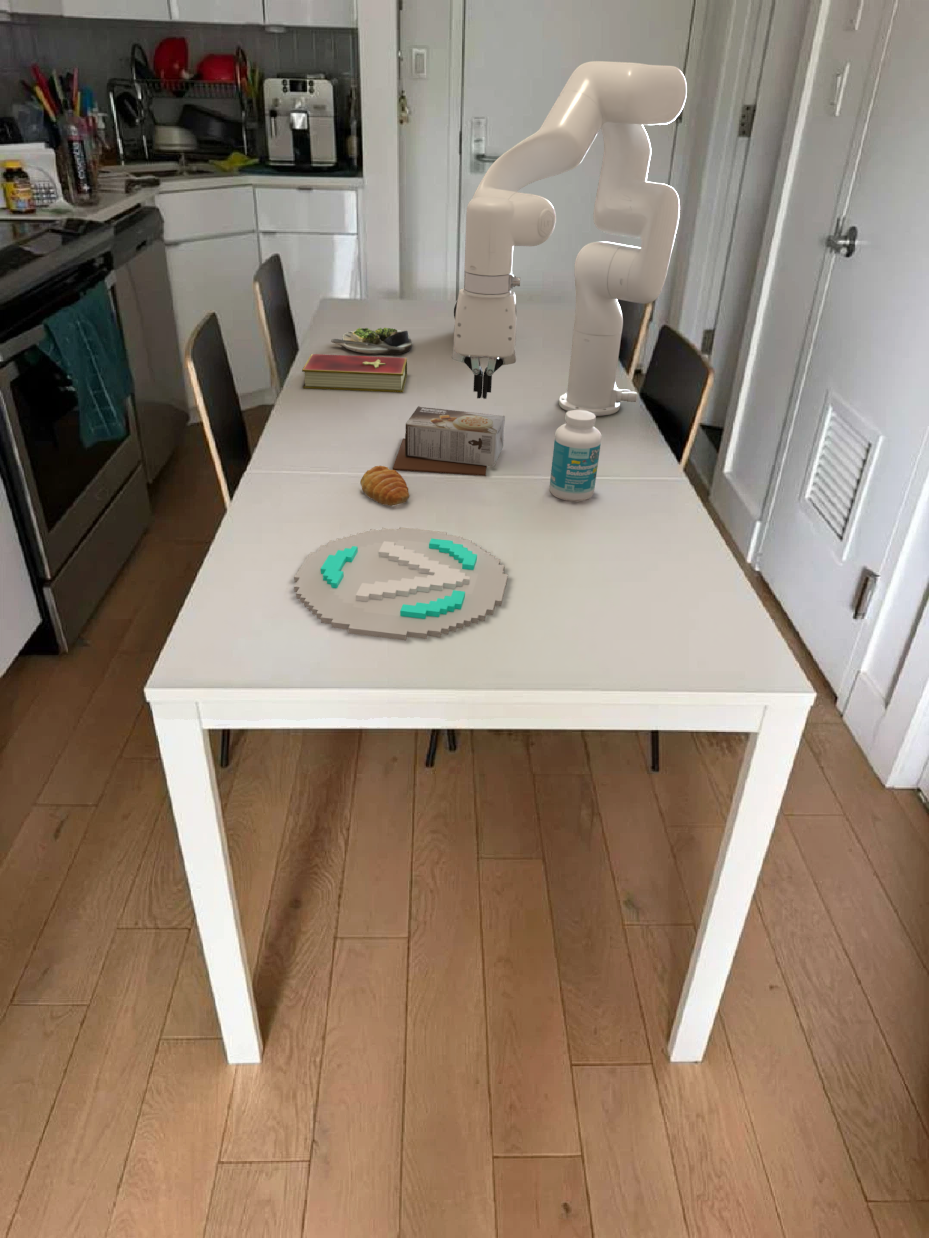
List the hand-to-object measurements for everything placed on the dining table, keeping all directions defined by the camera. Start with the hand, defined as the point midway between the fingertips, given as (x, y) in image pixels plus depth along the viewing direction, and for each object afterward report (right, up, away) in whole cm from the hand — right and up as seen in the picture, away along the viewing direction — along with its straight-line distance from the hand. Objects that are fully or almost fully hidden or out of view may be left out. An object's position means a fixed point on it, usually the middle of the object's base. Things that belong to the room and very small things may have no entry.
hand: (482, 395), depth 150 cm
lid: (-11, -33, -30) cm, 46 cm away
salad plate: (-24, +28, +64) cm, 74 cm away
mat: (-7, -9, +7) cm, 13 cm away
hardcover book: (-26, +13, +41) cm, 50 cm away
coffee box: (+3, -7, +4) cm, 9 cm away
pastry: (-16, -18, -7) cm, 25 cm away
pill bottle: (+15, -17, -4) cm, 23 cm away
